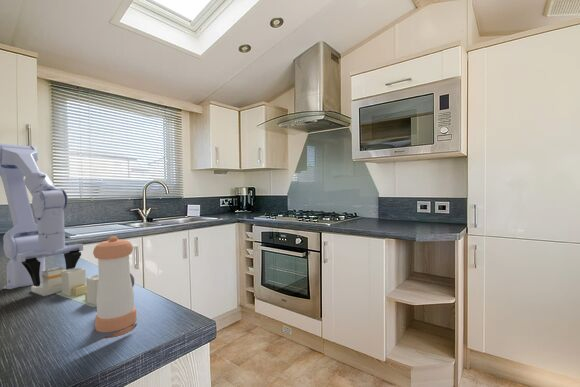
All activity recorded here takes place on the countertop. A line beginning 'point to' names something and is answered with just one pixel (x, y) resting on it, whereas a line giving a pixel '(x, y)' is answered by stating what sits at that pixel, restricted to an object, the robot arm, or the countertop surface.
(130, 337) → the countertop surface
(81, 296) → the fuse block
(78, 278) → the left fuse
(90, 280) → the block
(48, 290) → the tray
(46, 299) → the countertop surface
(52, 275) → the block
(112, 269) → the salt shaker
